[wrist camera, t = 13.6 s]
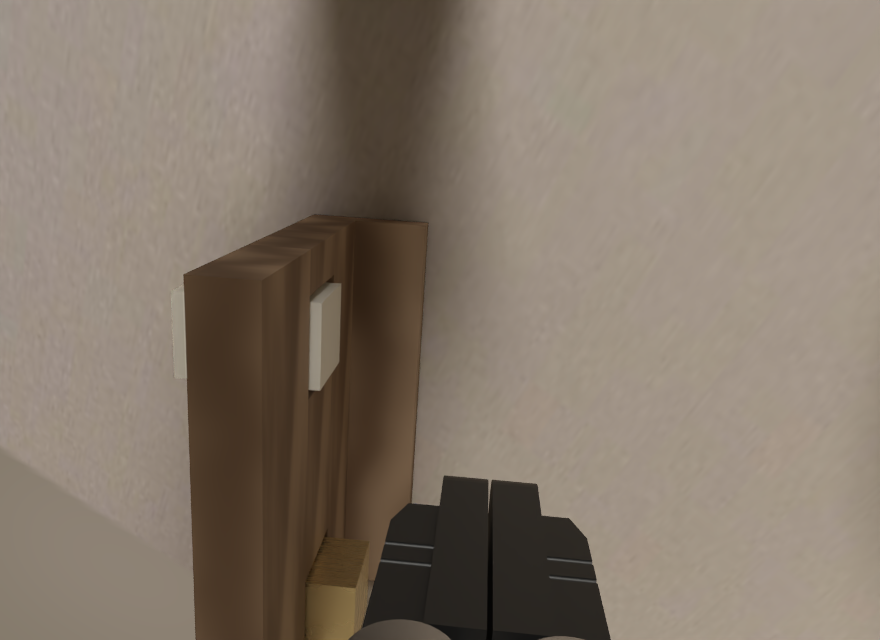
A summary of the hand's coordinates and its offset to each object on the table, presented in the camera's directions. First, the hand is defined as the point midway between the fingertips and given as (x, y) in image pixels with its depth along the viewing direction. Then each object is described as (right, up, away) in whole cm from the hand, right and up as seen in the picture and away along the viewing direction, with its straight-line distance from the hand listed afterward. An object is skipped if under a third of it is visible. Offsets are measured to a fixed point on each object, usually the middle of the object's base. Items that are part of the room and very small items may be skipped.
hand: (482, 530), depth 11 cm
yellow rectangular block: (-9, -12, +32) cm, 36 cm away
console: (-6, -3, +37) cm, 38 cm away
